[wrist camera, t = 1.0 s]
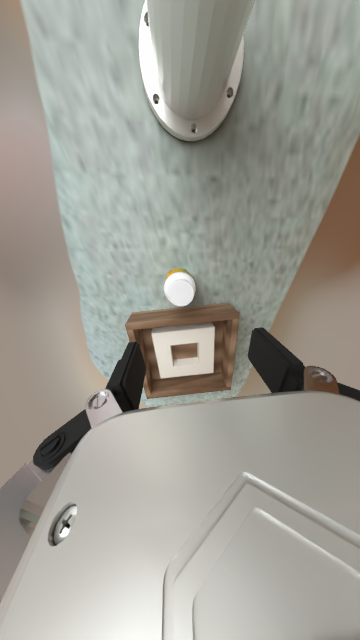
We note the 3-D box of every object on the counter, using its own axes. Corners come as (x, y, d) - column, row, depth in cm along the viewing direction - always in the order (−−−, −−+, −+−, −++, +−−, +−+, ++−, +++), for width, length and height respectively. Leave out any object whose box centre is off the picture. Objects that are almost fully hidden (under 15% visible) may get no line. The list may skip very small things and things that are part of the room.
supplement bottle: (191, 267, 29) (200, 275, 20) (190, 293, 31) (197, 310, 22) (164, 267, 28) (162, 275, 20) (165, 293, 31) (163, 310, 22)
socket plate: (152, 327, 33) (151, 333, 31) (211, 321, 33) (214, 327, 31) (161, 371, 39) (160, 378, 37) (210, 365, 40) (213, 372, 37)
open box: (132, 312, 32) (124, 325, 27) (228, 302, 32) (239, 313, 27) (150, 379, 42) (147, 398, 37) (223, 371, 42) (230, 389, 37)
